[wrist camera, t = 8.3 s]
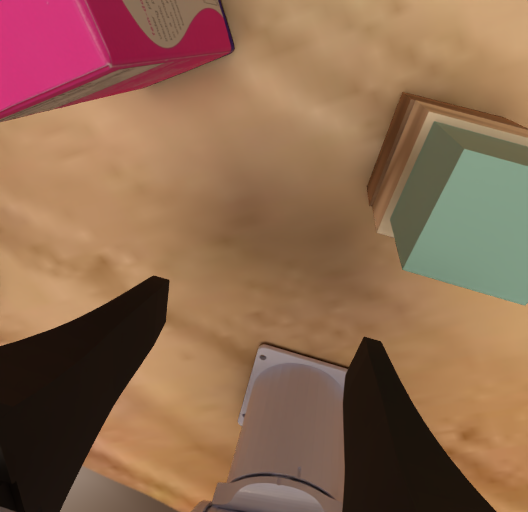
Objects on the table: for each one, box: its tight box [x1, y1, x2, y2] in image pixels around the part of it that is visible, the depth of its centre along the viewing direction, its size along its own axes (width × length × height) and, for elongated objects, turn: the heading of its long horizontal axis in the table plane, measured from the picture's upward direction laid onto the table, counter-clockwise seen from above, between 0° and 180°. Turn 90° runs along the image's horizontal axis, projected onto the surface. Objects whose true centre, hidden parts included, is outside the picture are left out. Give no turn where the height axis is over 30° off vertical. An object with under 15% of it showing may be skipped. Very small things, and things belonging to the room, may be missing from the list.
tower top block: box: [372, 100, 528, 238], centre depth 16 cm, size 5×5×3 cm
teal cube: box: [390, 121, 528, 305], centre depth 13 cm, size 4×4×4 cm
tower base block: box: [367, 92, 528, 206], centre depth 18 cm, size 5×5×3 cm
